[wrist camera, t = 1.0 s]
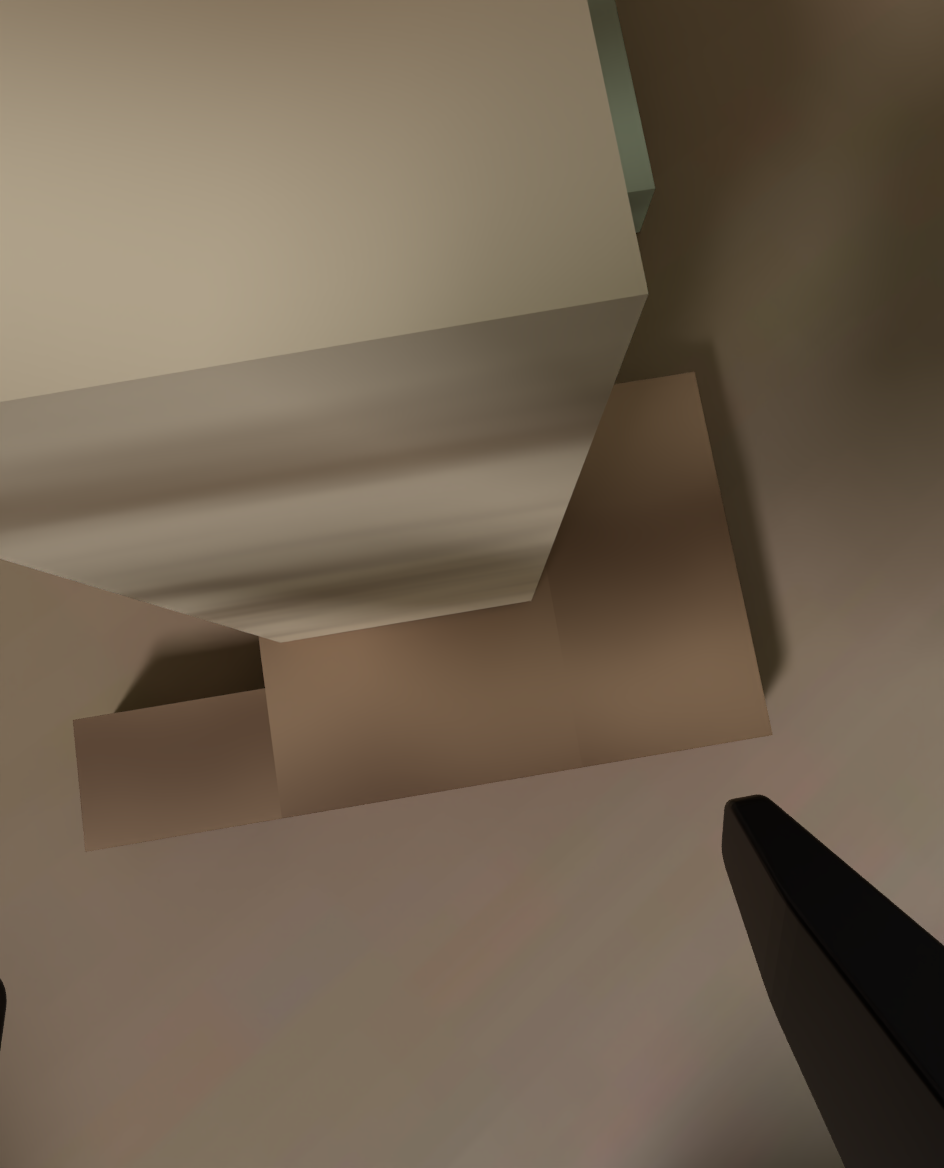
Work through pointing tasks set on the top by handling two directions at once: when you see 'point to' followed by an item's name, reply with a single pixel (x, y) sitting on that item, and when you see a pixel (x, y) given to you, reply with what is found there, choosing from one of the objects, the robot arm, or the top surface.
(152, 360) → the beech block
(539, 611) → the trap runway
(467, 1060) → the top surface
